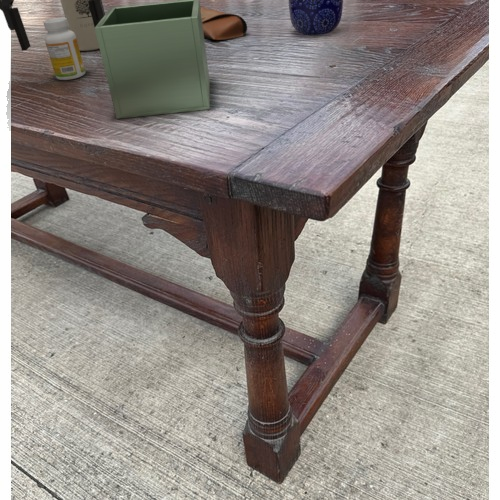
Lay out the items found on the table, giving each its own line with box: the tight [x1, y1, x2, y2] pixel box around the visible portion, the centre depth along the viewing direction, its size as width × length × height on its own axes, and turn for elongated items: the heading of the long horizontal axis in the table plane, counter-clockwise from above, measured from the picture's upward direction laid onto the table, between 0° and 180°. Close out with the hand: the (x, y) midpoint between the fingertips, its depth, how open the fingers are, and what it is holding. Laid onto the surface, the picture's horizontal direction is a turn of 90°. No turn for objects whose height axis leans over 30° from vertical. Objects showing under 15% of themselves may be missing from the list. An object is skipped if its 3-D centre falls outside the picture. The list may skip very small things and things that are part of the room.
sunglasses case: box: [200, 5, 248, 41], centre depth 112 cm, size 18×7×7 cm
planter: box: [288, 0, 344, 36], centre depth 102 cm, size 11×11×11 cm
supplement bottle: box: [43, 16, 86, 81], centre depth 91 cm, size 5×5×10 cm
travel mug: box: [59, 0, 100, 52], centre depth 106 cm, size 8×8×18 cm
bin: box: [95, 0, 211, 120], centre depth 76 cm, size 14×14×12 cm
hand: (64, 44), depth 91 cm, fingers open, 13 cm apart
